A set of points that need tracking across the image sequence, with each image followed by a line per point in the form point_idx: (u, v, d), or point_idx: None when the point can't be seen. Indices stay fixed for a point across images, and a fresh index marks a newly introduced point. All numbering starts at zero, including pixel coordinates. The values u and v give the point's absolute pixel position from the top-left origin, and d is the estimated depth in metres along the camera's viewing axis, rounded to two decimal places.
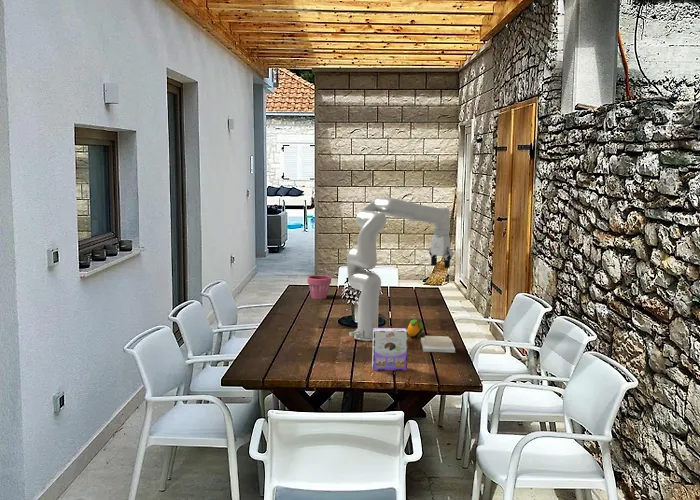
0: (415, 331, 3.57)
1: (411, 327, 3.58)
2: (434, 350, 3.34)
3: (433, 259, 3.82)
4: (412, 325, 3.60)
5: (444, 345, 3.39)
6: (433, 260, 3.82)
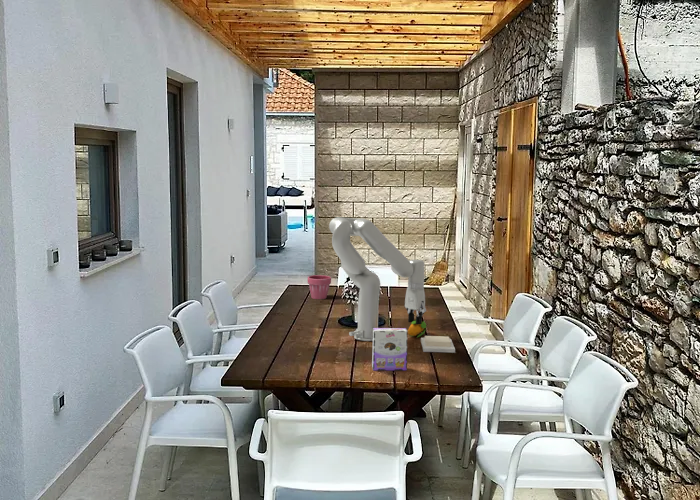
0: (415, 331, 3.56)
1: (411, 327, 3.58)
2: (434, 350, 3.34)
3: (410, 315, 3.64)
4: (413, 325, 3.60)
5: (444, 345, 3.39)
6: (410, 316, 3.64)
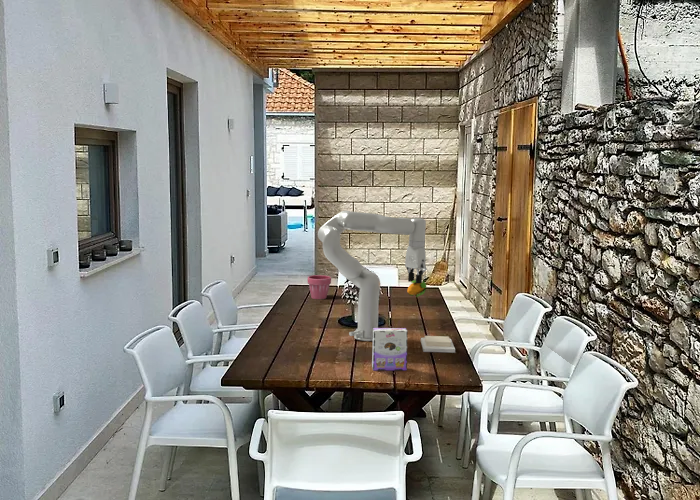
0: (415, 289, 3.54)
1: (411, 285, 3.55)
2: (434, 350, 3.34)
3: (410, 275, 3.61)
4: (413, 284, 3.58)
5: (444, 345, 3.39)
6: (410, 276, 3.61)
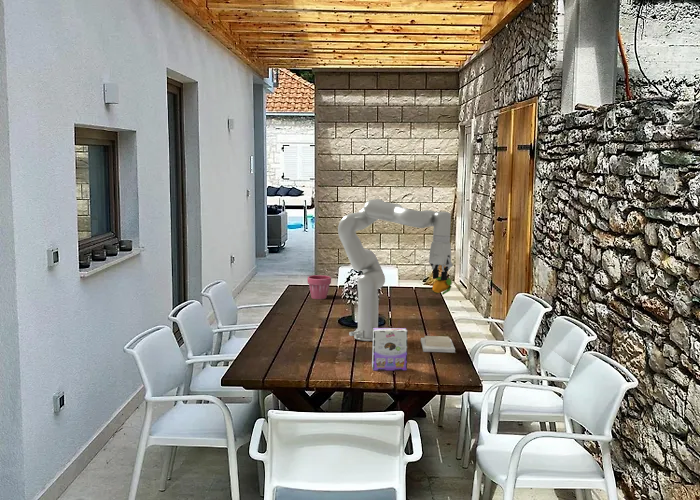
0: (440, 287, 3.34)
1: (436, 283, 3.36)
2: (434, 350, 3.34)
3: (435, 271, 3.42)
4: (438, 281, 3.38)
5: (444, 345, 3.39)
6: (435, 273, 3.42)
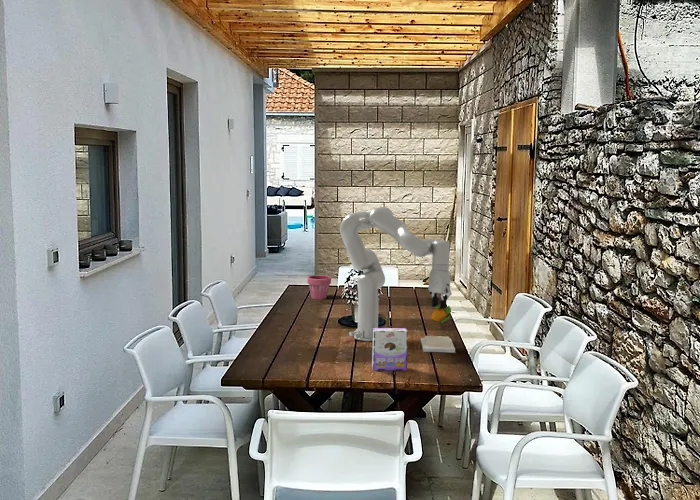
0: (439, 315, 3.36)
1: (436, 311, 3.37)
2: (434, 350, 3.34)
3: (434, 300, 3.43)
4: (437, 309, 3.40)
5: (444, 345, 3.39)
6: (434, 301, 3.43)
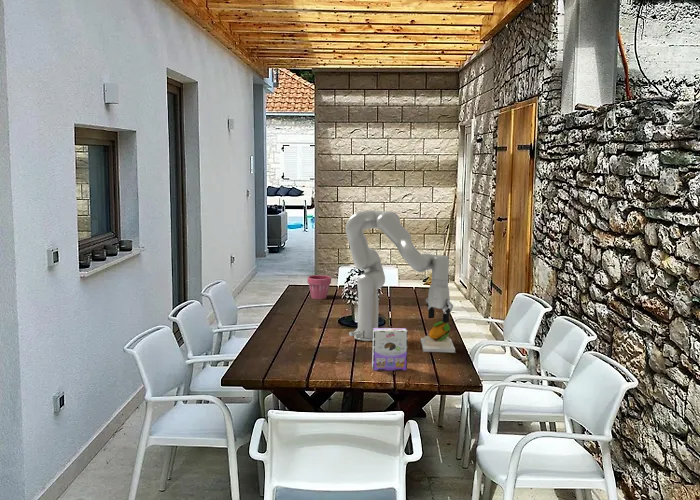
0: (437, 333, 3.37)
1: (433, 329, 3.39)
2: (434, 350, 3.34)
3: (430, 311, 3.46)
4: (435, 327, 3.41)
5: (444, 345, 3.39)
6: (430, 312, 3.46)
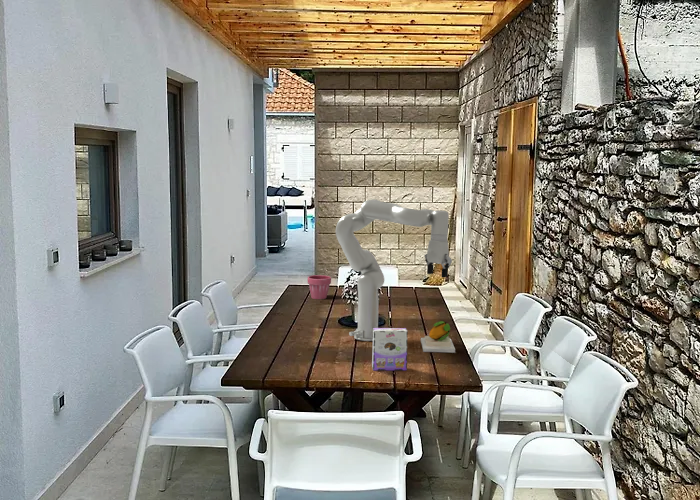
0: (437, 333, 3.37)
1: (433, 329, 3.39)
2: (434, 350, 3.34)
3: (429, 267, 3.45)
4: (435, 327, 3.41)
5: (444, 345, 3.39)
6: (429, 268, 3.45)
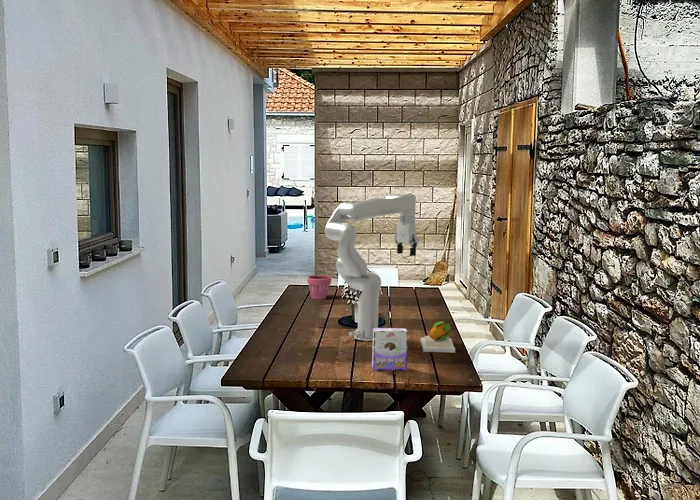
0: (437, 333, 3.37)
1: (433, 329, 3.39)
2: (434, 350, 3.34)
3: (399, 247, 3.71)
4: (436, 327, 3.41)
5: (444, 345, 3.39)
6: (399, 248, 3.71)
